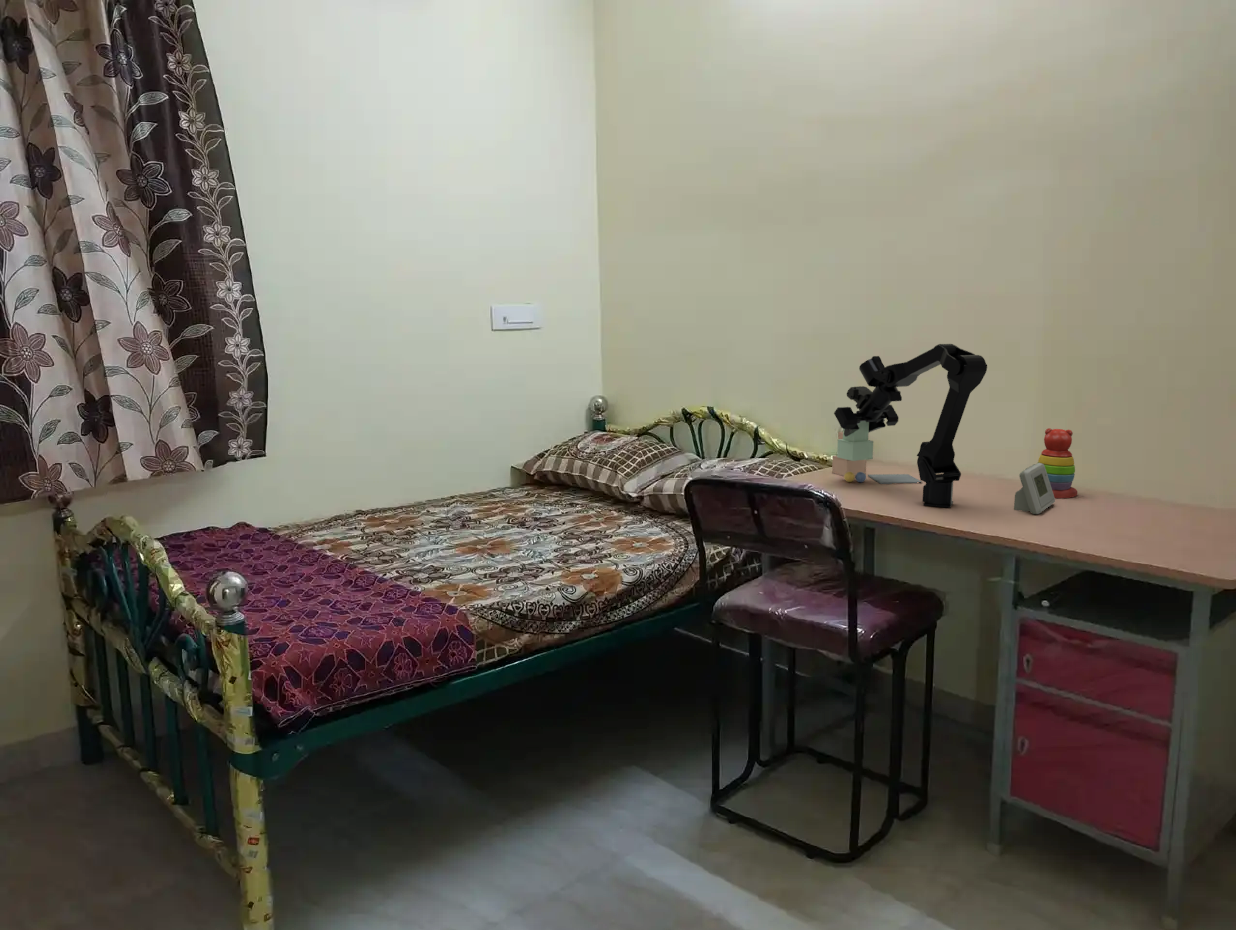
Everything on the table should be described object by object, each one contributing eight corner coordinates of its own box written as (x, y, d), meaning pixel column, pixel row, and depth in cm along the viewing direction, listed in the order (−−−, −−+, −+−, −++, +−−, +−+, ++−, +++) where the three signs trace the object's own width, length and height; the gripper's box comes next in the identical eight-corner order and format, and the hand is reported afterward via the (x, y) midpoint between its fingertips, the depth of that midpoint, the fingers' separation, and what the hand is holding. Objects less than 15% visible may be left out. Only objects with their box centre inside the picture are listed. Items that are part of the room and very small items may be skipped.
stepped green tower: (872, 459, 264) (874, 415, 262) (852, 460, 262) (854, 416, 260) (856, 455, 271) (858, 412, 269) (837, 457, 268) (838, 414, 266)
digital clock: (1037, 516, 223) (1040, 473, 222) (1001, 510, 230) (1004, 468, 228) (1067, 507, 234) (1070, 465, 232) (1031, 501, 241) (1034, 460, 239)
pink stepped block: (865, 474, 278) (867, 433, 276) (846, 476, 275) (848, 434, 273) (851, 471, 284) (852, 430, 282) (832, 472, 281) (833, 431, 279)
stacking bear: (1078, 493, 250) (1083, 427, 247) (1073, 500, 241) (1079, 432, 238) (1034, 489, 255) (1039, 425, 252) (1028, 496, 247) (1033, 429, 244)
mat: (922, 483, 264) (922, 481, 264) (880, 483, 264) (880, 482, 264) (907, 475, 276) (907, 474, 276) (867, 476, 276) (867, 474, 276)
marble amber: (853, 479, 268) (857, 472, 266) (850, 485, 267) (854, 479, 264) (844, 474, 269) (848, 467, 267) (841, 481, 267) (845, 474, 265)
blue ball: (866, 481, 267) (867, 471, 266) (864, 484, 265) (865, 474, 264) (855, 479, 269) (857, 469, 268) (853, 482, 266) (854, 473, 265)
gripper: (893, 376, 262) (866, 411, 274) (839, 378, 255) (814, 414, 267) (911, 406, 257) (883, 441, 268) (856, 409, 249) (830, 445, 261)
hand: (852, 434), depth 266 cm, fingers closed on stepped green tower, 5 cm apart
